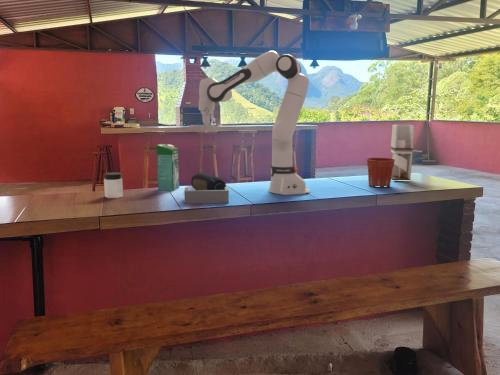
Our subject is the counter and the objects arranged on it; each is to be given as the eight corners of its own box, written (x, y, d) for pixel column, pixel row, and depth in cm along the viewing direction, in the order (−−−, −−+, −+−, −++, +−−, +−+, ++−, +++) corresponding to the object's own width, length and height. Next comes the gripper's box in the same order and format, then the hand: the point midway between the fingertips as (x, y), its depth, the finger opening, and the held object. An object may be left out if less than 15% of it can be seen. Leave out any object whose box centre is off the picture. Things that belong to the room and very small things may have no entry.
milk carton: (173, 190, 234) (172, 145, 229) (157, 190, 236) (156, 144, 231) (179, 187, 243) (178, 143, 238) (164, 187, 244) (162, 143, 240)
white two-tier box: (388, 178, 279) (392, 124, 272) (405, 179, 278) (409, 125, 271) (392, 181, 268) (396, 125, 261) (410, 182, 267) (414, 125, 260)
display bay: (227, 198, 215) (227, 186, 214) (228, 202, 206) (228, 190, 205) (185, 199, 213) (185, 187, 212) (184, 203, 204) (184, 191, 203)
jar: (113, 194, 223) (112, 171, 221) (126, 195, 220) (125, 172, 218) (101, 197, 215) (100, 174, 213) (114, 199, 212) (113, 175, 210)
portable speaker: (188, 190, 236) (188, 172, 234) (204, 188, 242) (204, 171, 240) (211, 198, 216) (211, 178, 214) (228, 196, 222) (228, 177, 220)
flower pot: (359, 185, 254) (360, 158, 251) (374, 182, 265) (376, 156, 262) (383, 189, 242) (385, 161, 239) (399, 186, 252) (401, 159, 249)
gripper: (212, 107, 230) (212, 133, 232) (211, 107, 250) (211, 131, 252) (201, 107, 229) (200, 133, 231) (200, 107, 249) (200, 131, 251)
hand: (206, 132), depth 242 cm, fingers open, 8 cm apart
